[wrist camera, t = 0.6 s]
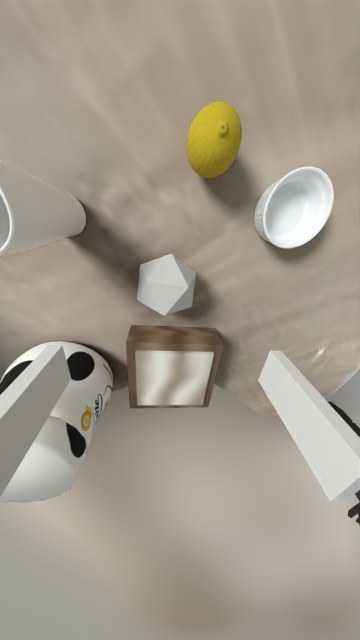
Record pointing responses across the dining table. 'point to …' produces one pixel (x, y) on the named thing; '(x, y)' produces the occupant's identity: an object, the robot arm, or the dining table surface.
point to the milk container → (61, 424)
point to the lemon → (214, 139)
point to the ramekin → (295, 208)
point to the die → (166, 285)
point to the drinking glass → (34, 212)
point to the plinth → (172, 366)
